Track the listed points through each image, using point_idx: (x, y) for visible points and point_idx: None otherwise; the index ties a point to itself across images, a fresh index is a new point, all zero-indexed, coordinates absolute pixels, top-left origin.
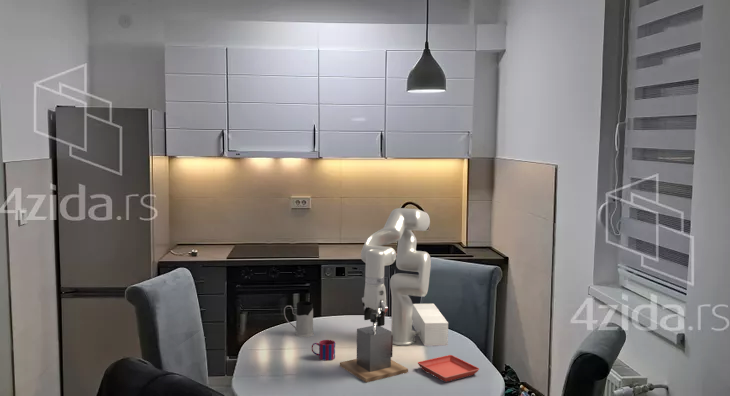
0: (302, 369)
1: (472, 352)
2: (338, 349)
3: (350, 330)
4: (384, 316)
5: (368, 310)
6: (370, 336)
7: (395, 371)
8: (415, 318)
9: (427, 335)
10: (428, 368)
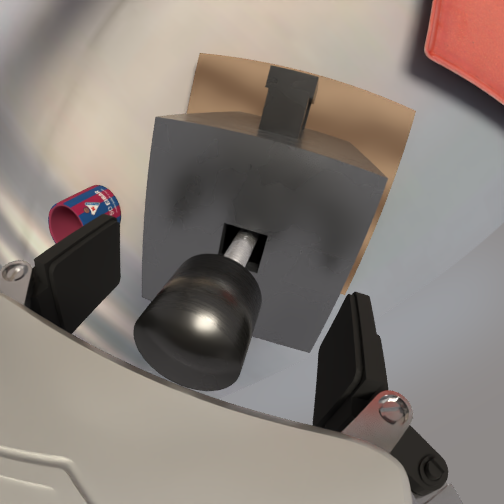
0: (140, 314)
1: None
2: (69, 133)
3: (13, 24)
4: (381, 373)
5: (54, 301)
6: (309, 347)
7: (393, 169)
8: None
9: None
10: (490, 94)
